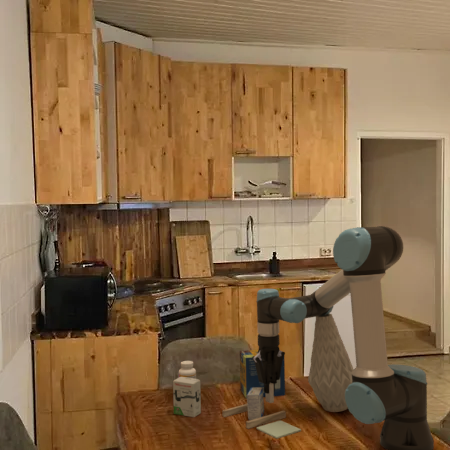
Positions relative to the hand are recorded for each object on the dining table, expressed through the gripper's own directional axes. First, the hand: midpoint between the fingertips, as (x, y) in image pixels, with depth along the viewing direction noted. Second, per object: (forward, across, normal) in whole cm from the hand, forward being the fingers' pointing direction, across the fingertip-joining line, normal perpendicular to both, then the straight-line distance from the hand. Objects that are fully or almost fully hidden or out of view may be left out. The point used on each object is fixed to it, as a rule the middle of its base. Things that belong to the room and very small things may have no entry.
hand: (269, 401), depth 201 cm
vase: (+3, -20, +12) cm, 24 cm away
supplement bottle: (+4, +13, -33) cm, 36 cm away
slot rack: (+4, +7, 0) cm, 8 cm away
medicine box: (+4, +6, 0) cm, 7 cm away
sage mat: (+4, +8, +14) cm, 17 cm away
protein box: (+4, -11, -18) cm, 21 cm away
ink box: (+4, +23, -17) cm, 29 cm away
